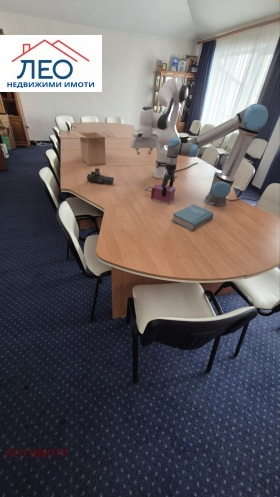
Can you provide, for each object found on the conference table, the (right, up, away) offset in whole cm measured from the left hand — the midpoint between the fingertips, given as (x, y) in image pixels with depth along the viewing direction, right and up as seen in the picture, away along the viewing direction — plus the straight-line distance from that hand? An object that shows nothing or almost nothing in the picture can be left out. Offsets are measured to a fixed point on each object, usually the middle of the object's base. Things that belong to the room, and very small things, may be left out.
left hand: (143, 154), depth 165 cm
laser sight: (-37, -15, +22) cm, 45 cm away
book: (+31, -52, -22) cm, 65 cm away
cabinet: (+15, -34, +2) cm, 37 cm away
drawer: (+10, -31, +3) cm, 33 cm away
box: (-53, +23, +72) cm, 92 cm away
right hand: (+17, -30, -3) cm, 34 cm away
